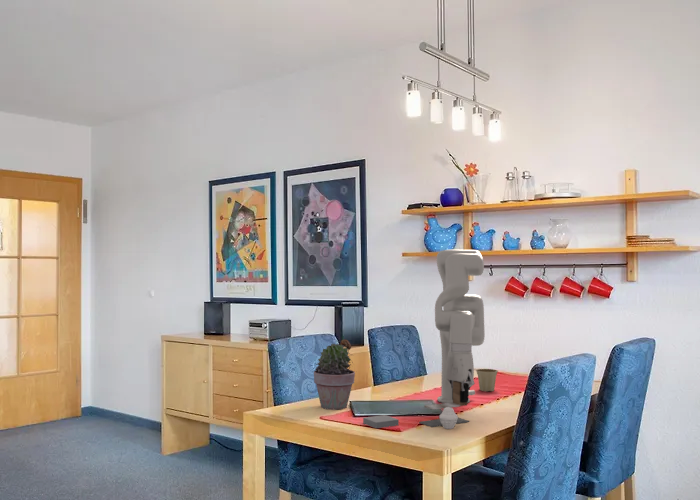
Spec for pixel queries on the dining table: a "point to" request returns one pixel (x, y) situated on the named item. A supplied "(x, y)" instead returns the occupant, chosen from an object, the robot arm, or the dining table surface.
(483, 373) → the flower pot
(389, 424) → the tile
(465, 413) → the dining table surface
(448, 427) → the muffin
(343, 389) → the potted plant
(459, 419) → the mat
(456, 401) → the turner
